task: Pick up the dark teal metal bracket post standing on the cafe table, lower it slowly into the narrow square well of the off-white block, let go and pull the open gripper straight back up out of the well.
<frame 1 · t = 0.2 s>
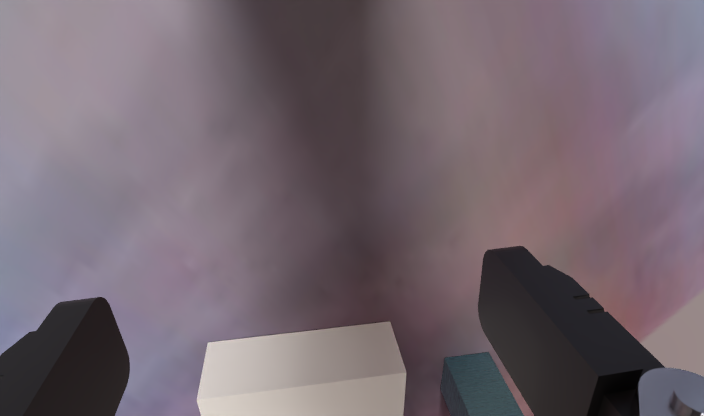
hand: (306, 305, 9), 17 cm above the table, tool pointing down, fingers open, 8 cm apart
well block: (306, 392, 36), on the table
bracket post: (464, 370, 38), on the table
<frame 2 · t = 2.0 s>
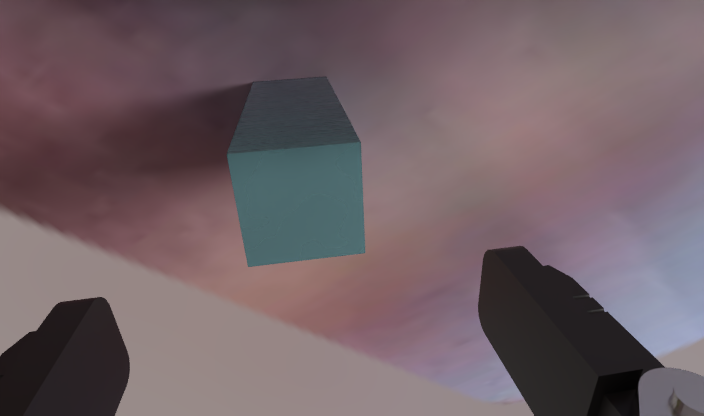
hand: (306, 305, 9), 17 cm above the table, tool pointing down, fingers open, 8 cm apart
bracket post: (294, 115, 24), on the table
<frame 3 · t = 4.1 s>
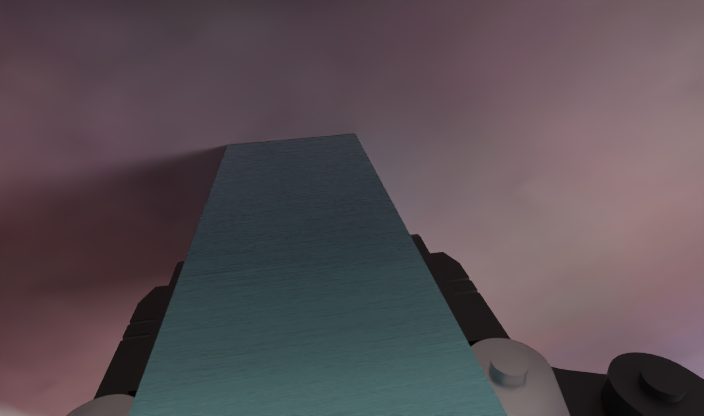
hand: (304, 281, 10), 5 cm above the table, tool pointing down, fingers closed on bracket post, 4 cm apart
bracket post: (298, 197, 14), on the table, touching gripper
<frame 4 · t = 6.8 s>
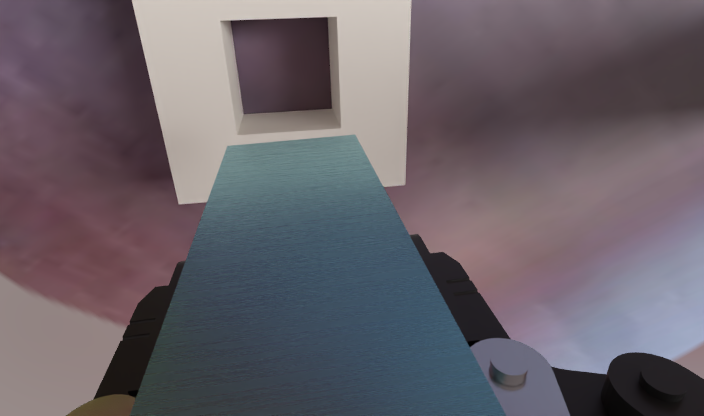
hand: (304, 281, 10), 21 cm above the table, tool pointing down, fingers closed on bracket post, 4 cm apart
well block: (284, 65, 28), on the table
bracket post: (298, 197, 14), point 16 cm above the table, touching gripper
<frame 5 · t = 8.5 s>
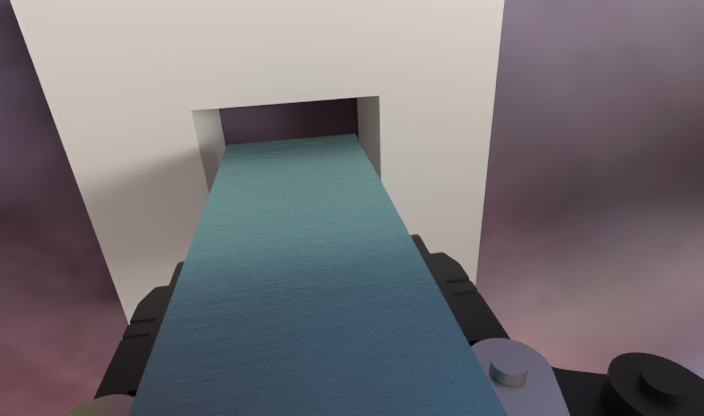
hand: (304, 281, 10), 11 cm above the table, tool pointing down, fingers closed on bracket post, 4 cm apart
well block: (293, 144, 19), on the table
bracket post: (298, 196, 14), point 6 cm above the table, touching gripper
when the fingers open (7 cm above the table, at t = 9.6 s): bracket post drops 2 cm, resting in well block.
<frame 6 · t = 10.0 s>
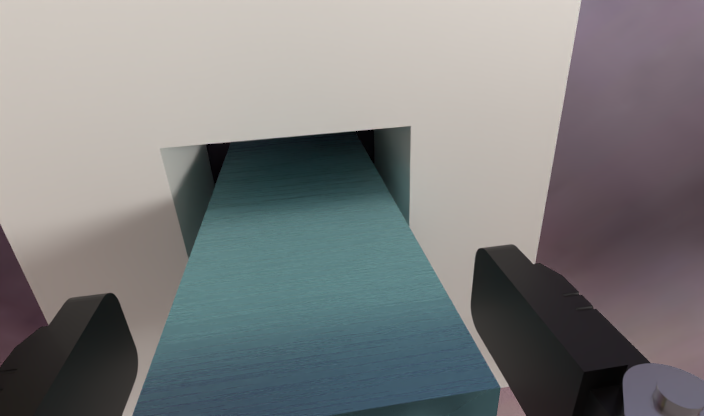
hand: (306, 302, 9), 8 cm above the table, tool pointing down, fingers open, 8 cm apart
well block: (296, 175, 16), on the table
bracket post: (298, 176, 16), resting in well block
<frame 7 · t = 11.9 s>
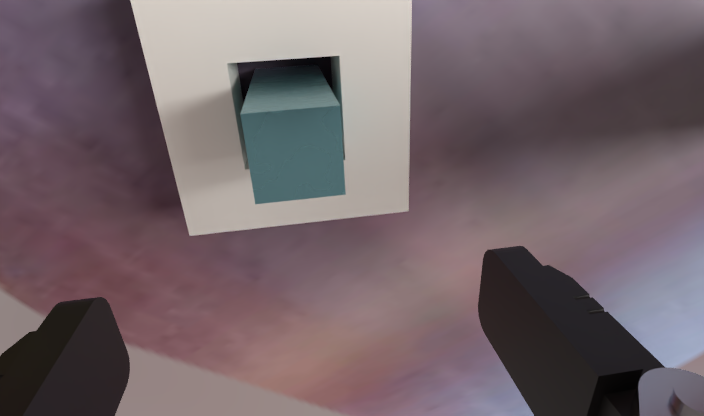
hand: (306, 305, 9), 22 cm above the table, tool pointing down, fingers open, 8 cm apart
well block: (288, 96, 29), on the table
bracket post: (289, 97, 29), resting in well block
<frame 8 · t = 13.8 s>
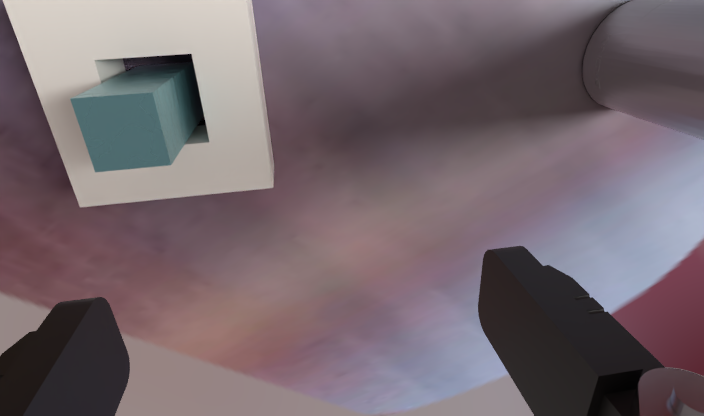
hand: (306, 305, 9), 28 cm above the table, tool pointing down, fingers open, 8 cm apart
well block: (172, 89, 33), on the table
bracket post: (173, 90, 33), resting in well block
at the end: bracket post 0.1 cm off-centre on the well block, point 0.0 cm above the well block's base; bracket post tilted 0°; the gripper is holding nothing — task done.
